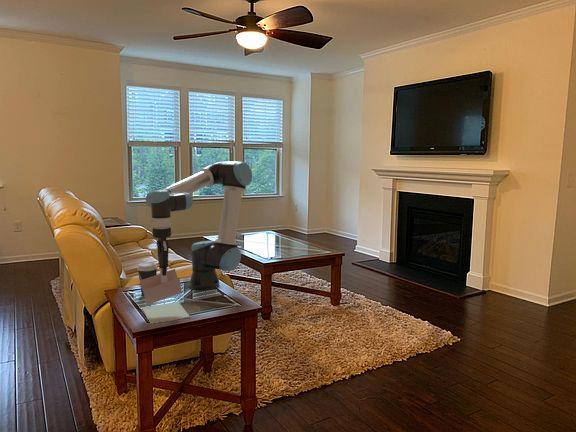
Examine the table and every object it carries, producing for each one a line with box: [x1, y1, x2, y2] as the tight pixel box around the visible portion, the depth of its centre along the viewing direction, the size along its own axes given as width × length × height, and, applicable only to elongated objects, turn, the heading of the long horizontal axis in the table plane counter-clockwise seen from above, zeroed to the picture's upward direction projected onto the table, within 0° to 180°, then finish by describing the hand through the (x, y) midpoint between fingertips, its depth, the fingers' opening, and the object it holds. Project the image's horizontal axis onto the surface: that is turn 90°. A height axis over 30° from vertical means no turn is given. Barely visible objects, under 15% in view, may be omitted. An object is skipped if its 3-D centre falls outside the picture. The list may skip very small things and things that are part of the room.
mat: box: [141, 301, 191, 325], centre depth 191 cm, size 20×16×1 cm
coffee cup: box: [136, 261, 159, 297], centre depth 214 cm, size 10×10×15 cm
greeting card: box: [139, 268, 182, 306], centre depth 186 cm, size 11×7×15 cm
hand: (164, 282), depth 189 cm, fingers closed
